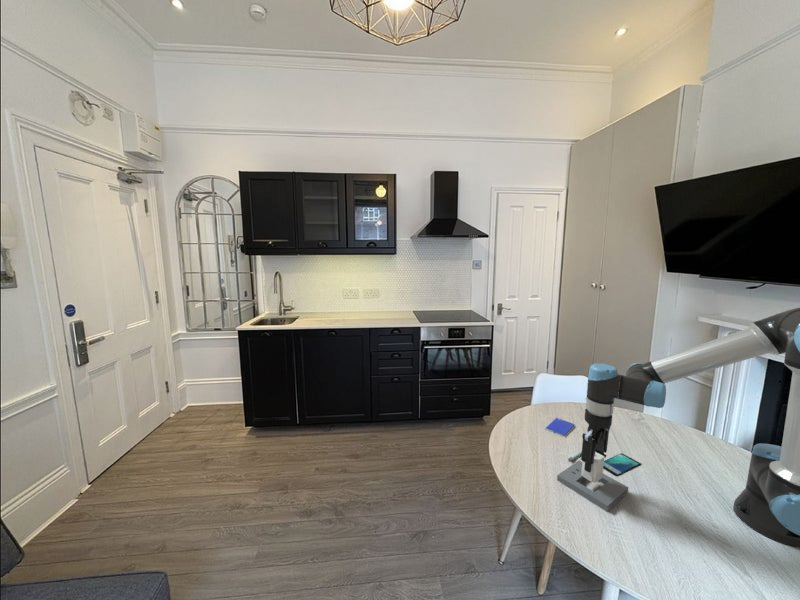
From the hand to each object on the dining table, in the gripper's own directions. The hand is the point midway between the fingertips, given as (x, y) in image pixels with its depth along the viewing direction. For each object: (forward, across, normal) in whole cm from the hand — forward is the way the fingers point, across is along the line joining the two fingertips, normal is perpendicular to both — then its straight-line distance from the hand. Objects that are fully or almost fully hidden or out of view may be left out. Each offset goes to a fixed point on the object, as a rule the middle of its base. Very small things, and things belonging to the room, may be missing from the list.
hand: (592, 475), depth 106 cm
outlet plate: (+4, 0, 0) cm, 4 cm away
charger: (0, 0, 0) cm, 0 cm away
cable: (+4, -13, -11) cm, 17 cm away
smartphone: (+4, -20, 0) cm, 21 cm away
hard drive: (+5, -25, -26) cm, 36 cm away
